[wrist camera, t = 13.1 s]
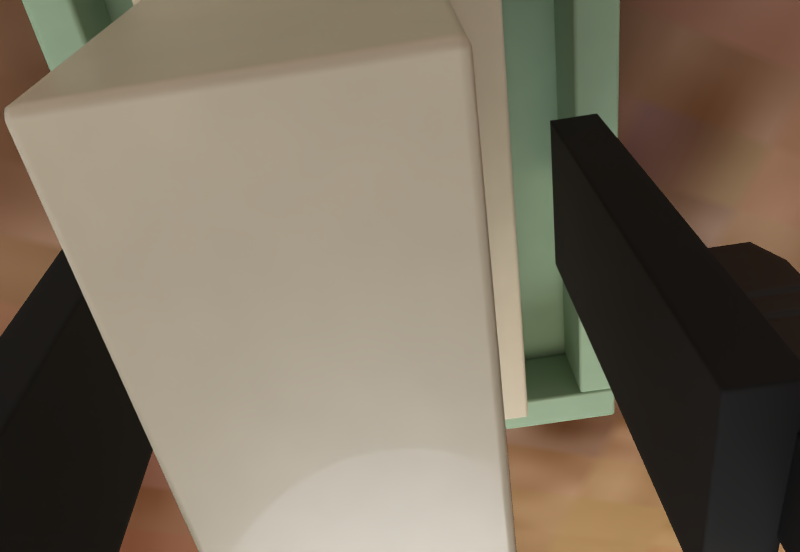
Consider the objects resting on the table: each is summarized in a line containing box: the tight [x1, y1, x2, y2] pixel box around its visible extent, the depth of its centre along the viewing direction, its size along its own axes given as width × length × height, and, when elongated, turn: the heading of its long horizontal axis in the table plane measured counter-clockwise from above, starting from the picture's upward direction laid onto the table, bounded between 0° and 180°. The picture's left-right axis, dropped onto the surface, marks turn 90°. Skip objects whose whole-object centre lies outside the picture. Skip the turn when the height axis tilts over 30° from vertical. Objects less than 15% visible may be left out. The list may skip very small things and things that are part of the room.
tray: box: [22, 0, 620, 429], centre depth 13 cm, size 18×10×2 cm, turn 8°
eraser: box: [4, 0, 528, 552], centre depth 11 cm, size 11×6×9 cm, turn 8°
